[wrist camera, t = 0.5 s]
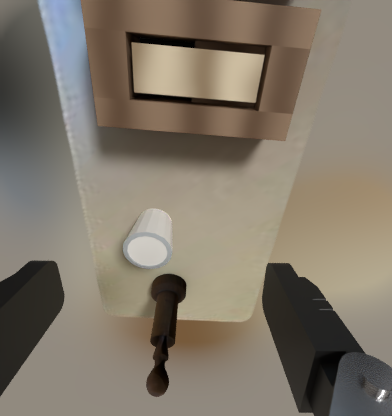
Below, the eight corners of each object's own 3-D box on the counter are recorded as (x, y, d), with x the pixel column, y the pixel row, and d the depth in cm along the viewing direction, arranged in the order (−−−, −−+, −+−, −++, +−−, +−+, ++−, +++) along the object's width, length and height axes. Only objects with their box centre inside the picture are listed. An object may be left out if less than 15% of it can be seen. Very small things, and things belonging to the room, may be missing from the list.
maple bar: (139, 89, 25) (134, 92, 23) (137, 44, 23) (131, 42, 21) (250, 99, 25) (255, 102, 23) (258, 55, 23) (264, 54, 21)
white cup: (128, 231, 39) (116, 261, 33) (141, 198, 36) (130, 225, 30) (167, 244, 41) (162, 275, 35) (182, 214, 37) (179, 242, 31)
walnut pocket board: (114, 115, 30) (97, 125, 24) (103, 1, 24) (78, -16, 19) (270, 128, 30) (285, 141, 25) (295, 21, 25) (321, 9, 20)
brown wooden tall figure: (164, 299, 48) (150, 408, 33) (146, 281, 46) (120, 390, 30) (192, 288, 47) (190, 398, 31) (174, 268, 44) (162, 378, 28)
